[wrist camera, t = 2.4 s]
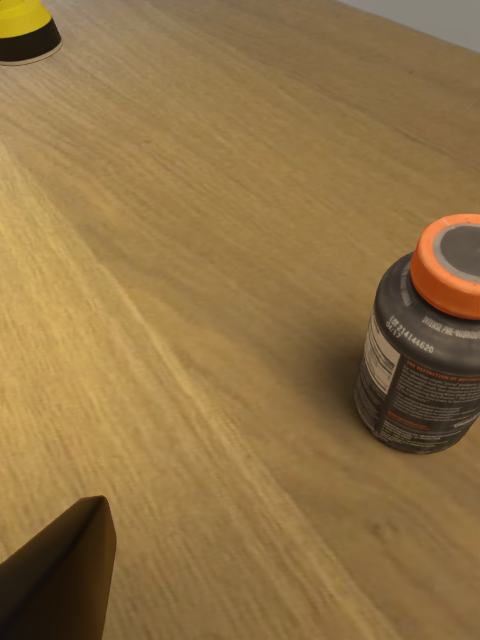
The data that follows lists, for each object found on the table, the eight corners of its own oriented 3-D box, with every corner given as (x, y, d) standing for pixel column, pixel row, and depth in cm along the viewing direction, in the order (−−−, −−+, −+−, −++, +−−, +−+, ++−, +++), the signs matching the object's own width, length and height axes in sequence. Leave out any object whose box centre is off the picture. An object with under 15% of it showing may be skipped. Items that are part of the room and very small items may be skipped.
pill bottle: (488, 393, 24) (609, 233, 15) (436, 481, 22) (544, 353, 12) (387, 337, 27) (438, 173, 18) (330, 410, 24) (356, 262, 15)
